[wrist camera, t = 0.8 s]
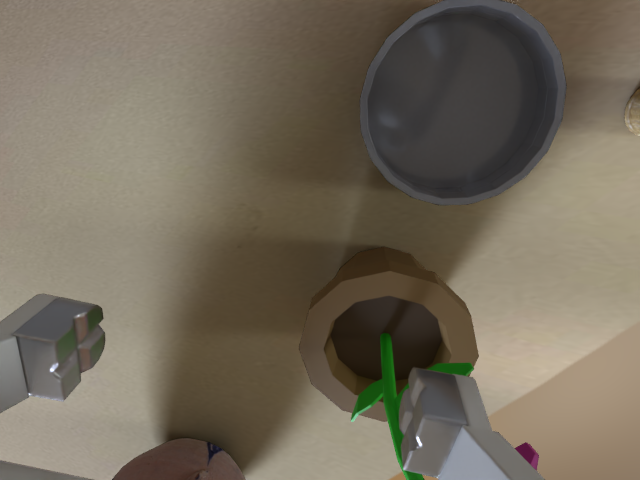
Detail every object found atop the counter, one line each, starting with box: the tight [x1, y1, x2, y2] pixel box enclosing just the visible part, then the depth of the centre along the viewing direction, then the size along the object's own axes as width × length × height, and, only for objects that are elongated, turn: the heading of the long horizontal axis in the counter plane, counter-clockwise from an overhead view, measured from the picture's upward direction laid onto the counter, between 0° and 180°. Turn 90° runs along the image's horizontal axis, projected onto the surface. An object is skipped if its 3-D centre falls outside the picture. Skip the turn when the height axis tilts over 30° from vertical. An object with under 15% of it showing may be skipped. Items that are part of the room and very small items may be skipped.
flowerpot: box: [299, 247, 539, 480], centre depth 29 cm, size 14×14×30 cm
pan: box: [360, 0, 567, 205], centre depth 34 cm, size 15×15×4 cm
